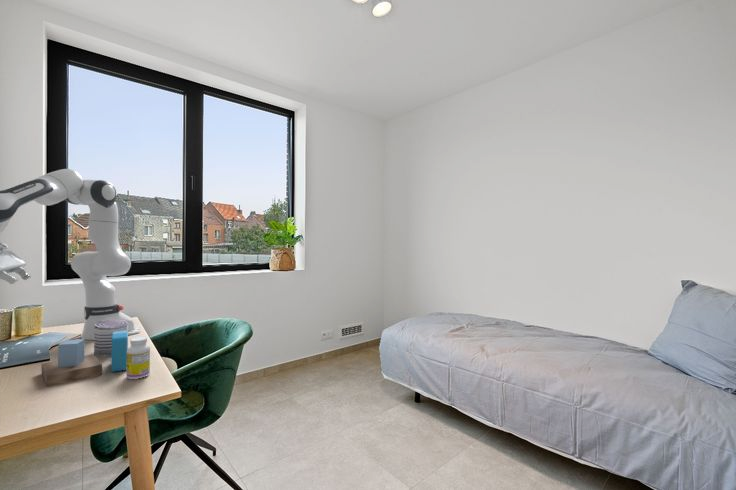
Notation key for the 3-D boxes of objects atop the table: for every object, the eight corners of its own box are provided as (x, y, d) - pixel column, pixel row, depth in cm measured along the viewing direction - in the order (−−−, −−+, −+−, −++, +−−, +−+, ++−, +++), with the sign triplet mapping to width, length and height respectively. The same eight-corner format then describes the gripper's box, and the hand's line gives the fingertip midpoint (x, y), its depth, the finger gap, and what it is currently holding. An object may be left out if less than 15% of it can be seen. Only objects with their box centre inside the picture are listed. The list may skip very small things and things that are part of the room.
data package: (112, 362, 131) (113, 330, 131) (127, 360, 133) (127, 329, 133) (111, 373, 121) (111, 339, 121) (127, 371, 123) (127, 337, 123)
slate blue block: (66, 361, 121) (66, 340, 121) (84, 360, 123) (84, 339, 123) (57, 367, 116) (58, 344, 116) (76, 366, 118) (77, 343, 118)
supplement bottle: (128, 373, 121) (129, 336, 121) (151, 371, 124) (151, 335, 123) (124, 381, 115) (124, 342, 115) (147, 378, 118) (148, 340, 117)
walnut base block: (93, 365, 129) (93, 354, 129) (101, 376, 120) (102, 364, 120) (41, 375, 119) (41, 363, 119) (46, 388, 110) (46, 375, 109)
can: (118, 345, 150) (118, 317, 150) (134, 350, 145) (135, 321, 145) (87, 353, 140) (87, 323, 140) (104, 358, 135) (104, 327, 135)
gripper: (-28, 246, 106) (15, 277, 111) (7, 243, 125) (43, 270, 129) (-48, 261, 105) (-4, 292, 109) (-10, 256, 123) (27, 283, 128)
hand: (22, 280), depth 119 cm, fingers open, 8 cm apart
